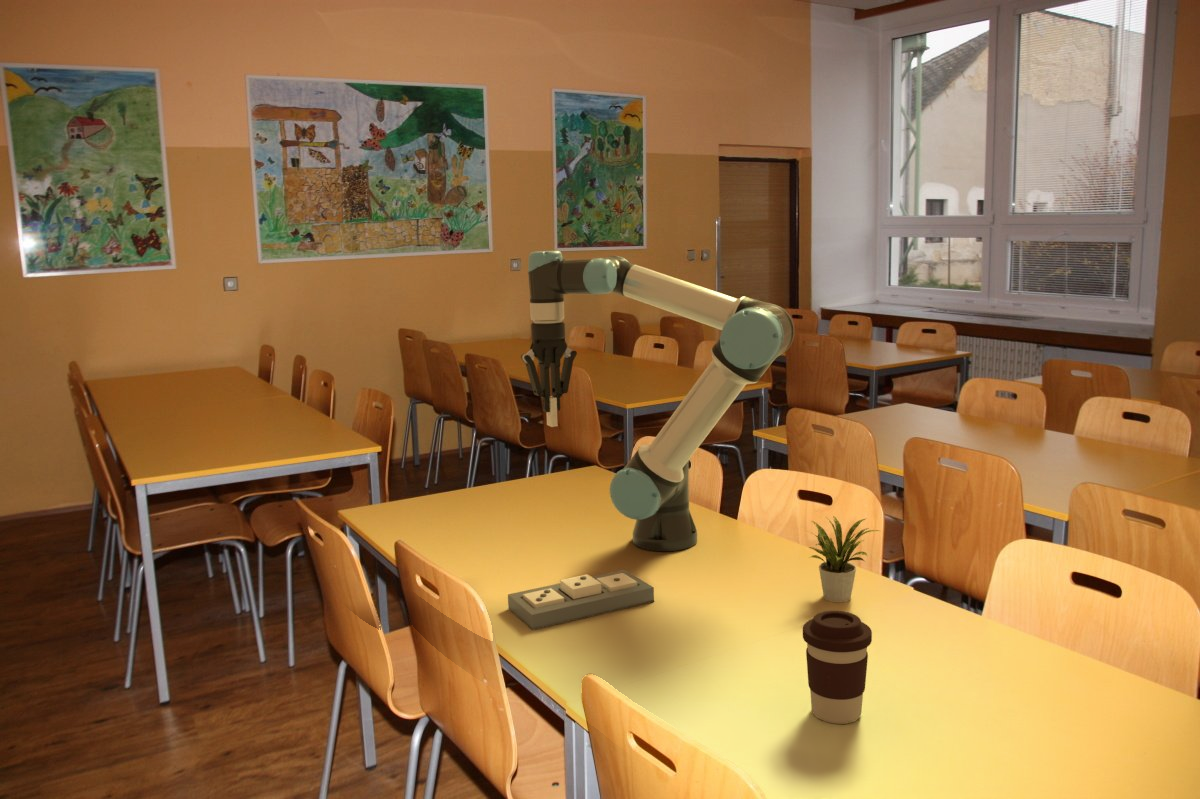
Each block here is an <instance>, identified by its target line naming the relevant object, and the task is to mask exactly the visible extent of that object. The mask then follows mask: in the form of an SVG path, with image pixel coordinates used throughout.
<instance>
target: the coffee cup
mask: <svg viewBox="0 0 1200 799" xmlns="http://www.w3.org/2000/svg"><path fill="white" fill-rule="evenodd" d="M872 635H873V632H872V629H871V628H870V626H869V625H868V624H867V623H865V622H863V621H862V620H861V619H860V617H859V616H858V615H856V614H855V613H852V612H848V611H844V610H832V609H831V610H824V611H821V612H817V613H816V614H815V615H814V616H813V618H812V619H809V620H807V621H806V622H804V623H803V625H802V638H803V640H804V642H805V643H806V645H807V647H806V648H805V649H806V650H805V651H806V652H805V655H806V667H807V668H806V670H807V684H808V687H809V690H810V703H811V707H810V708H811V711H812V713H813V715H814V716H815V717H816V718H817V719H819V720H821V721H822V722H823V721H824V722H826V723H829V724H836V725H837V724H838V725H840V724H842V725H843V724H850V723H853V722H855V721H858V720H859V719H860V718H861V715H862V710H863V701H864V700H863V698H864V692H865V690H866V684H867V682H866V681H867V680H866V679H867V671H868V670H867V669H868V668H867V667H868V660H869V655H868V647H869V646H870V645H871V644H872V641H873V640H872V639H873V638H872V637H873V636H872Z"/></svg>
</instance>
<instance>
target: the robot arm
mask: <svg viewBox="0 0 1200 799" xmlns="http://www.w3.org/2000/svg"><path fill="white" fill-rule="evenodd" d="M527 260H528V261H527V262H528V265H527V266H528V267H527V275H528V287H529V288H528V289H529V311H530V312H529V313H530V314H529V316H530V320H531V321H533V322H532V323H531V324H530V332H531V336H530V337H531V344H530V350H528V351H527V352H526V353H523V354H521V356H520V358H521V360H522V361H523V363H524V364H525V367H526V370H527V374H528V377H529V378H528V379H529V381H530V384H531V388H532V391H533V394H534V395H535V396H537V397H541V403H542V412H544V413H546V417H545V418H546V426H548V427H550V428H554V427H558V425H559V424H558V421H559V420H558V412H559V411H561V398H562V396H563V395H565V394H567V393H568V392H569V387H570V380H571V375H572V371H573V370H572V368H573V365H574V364H573V363H574V360H575V358H576V357H577V354H578V352H577V351H576V350H575V349H571V348H570V347H568V344H567V342H566V327H565V325H566V324H565V322H564V321H563V320H564V319H565V303H564V302H565V299H564V295H595V296H598V295H607V294H611V293H614V294H617V295H619V296H623V297H626V298H630V299H632V300H635V301H638V302H641V303H643V304H646V305H649V306H653V307H656V308H658V309H661V310H664V311H667V312H669V313H672V314H675V315H678V316H680V317H684V318H686V319H689V320H691V321H695V322H698V323H701V324H703V325H706V326H709V327H712V328H715V329H717V330H719V331H721V333H720V336H719V338H718V339H717V340H716V342H714V343H715V344H714V345H713V346H712V347H711V349H710V353H711V357H712V360H711V361H710V363H709V364H708V366H707V367H706V368H705V370H704V371H703V372H702V373H701V375H700V376H699V377H698V379H697V380H696V382H695V383H694V384H693V386H692V387H691V388H690V389H689V391H688V393H687V394H686V395H685V397H684V398H683V399H682V401H681V402H680V404H679V405H678V406H677V408H676V409H675V410H674V411H673V413H672V415H671V416H670V417H669V419H668V420H667V421H666V422H665V424H664V425H663V427H662V428H661V429H660V431H659V432H658V433H657V435H656V436H655V438H654V439H653V440H652V442H651V443H650V444H642V445H640V446H639V447H638V448H637V450H636V452H634V455H633V456H632V457H631V458H630V460H629V461H628V462H627V464H626V465H625V466H624V467H623V468H622V469H620V470H619V471H617V472H616V473H615V474H614V476H613V477H612V479H611V482H610V483H609V484H610V485H609V494H610V499H611V503H612V504H613V506H614V507H615V509H616V510H617V511H618V513H620V514H621V515H623V516H624V517H626V518H629V519H631V520H635V524H634V526H633V530H632V543H633V545H634V546H636V547H638V548H640V549H642V550H647V551H653V552H672V551H673V552H675V551H681V550H685V549H689V548H691V547H693V546H694V545H696V544H697V543H698V531H697V530H698V529H697V528H696V525H695V522H694V519H693V516H692V514H691V510H690V488H689V486H690V485H689V484H690V483H689V482H690V481H689V480H690V479H689V472H690V469H689V468H690V467H689V463H690V459H691V458H692V456H693V455H694V454H695V452H696V451H697V449H698V448H700V446H701V444H703V442H704V441H705V439H706V438H707V436H709V434H710V433H711V431H712V430H713V429H714V427H716V424H717V423H718V422H719V421H720V419H722V417H723V415H725V413H726V411H727V410H729V408H730V406H731V405H732V404H733V403H734V401H735V400H736V399H737V397H738V396H739V394H740V393H741V392H742V391H743V389H744V388H745V386H746V385H750V384H751V385H752V384H756V383H758V382H759V380H760V379H761V378H762V376H763V375H764V374H765V373H766V371H767V370H768V369H769V367H770V366H771V365H772V363H773V362H774V361H775V360H776V359H777V358H778V357H781V355H783V354H784V353H785V352H786V351H788V350H789V348H790V347H791V345H792V344H793V342H794V338H795V323H794V321H793V318H792V317H791V315H790V313H788V311H787V310H786V309H784V308H783V307H781V306H779V305H777V304H774V303H771V302H766V301H761V300H759V299H755V298H751V297H747V296H745V295H744V296H743V295H742V296H741V297H739V298H737V297H734V296H730V295H729V294H728V295H727V294H725V293H722V292H719V291H715V290H712V289H710V288H706V287H704V286H701V285H698V284H695V283H692V282H688V281H686V280H682V279H679V278H676V277H673V276H671V275H668V274H665V273H661V272H658V271H655V270H653V269H650V268H647V267H644V266H640V265H638V264H634V263H633V262H632V263H631V262H630V261H629V260H627V259H626V258H624V257H622V256H618V255H610V256H609V255H608V256H604V257H597V258H596V257H595V258H585V259H584V258H582V259H581V258H580V259H563V253H562V252H561V250H540V251H532V252H530V253H529V255H528V258H527ZM563 356H564V358H563ZM562 358H563V362H562V367H561V359H562ZM535 359H536V360H537V361H538V367H539V373H538V371H537V368H536V364H535V362H534V361H535ZM560 367H561V370H560ZM538 374H539V375H540V376H539V375H538Z"/></svg>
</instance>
